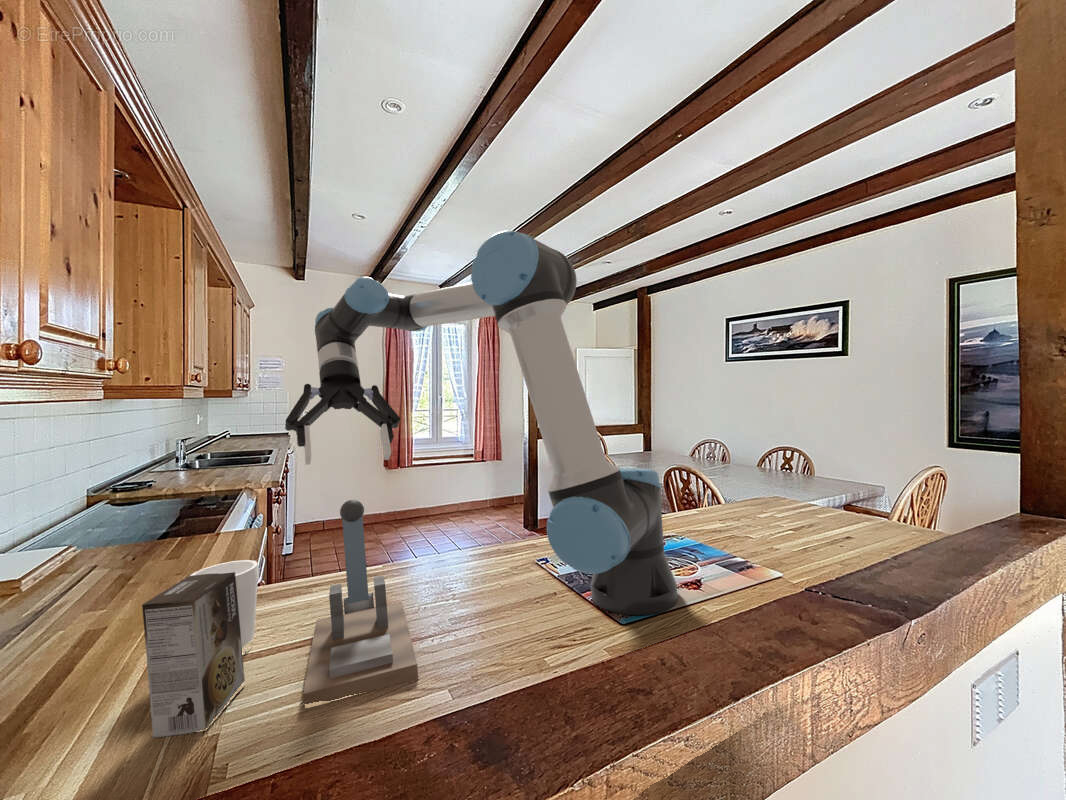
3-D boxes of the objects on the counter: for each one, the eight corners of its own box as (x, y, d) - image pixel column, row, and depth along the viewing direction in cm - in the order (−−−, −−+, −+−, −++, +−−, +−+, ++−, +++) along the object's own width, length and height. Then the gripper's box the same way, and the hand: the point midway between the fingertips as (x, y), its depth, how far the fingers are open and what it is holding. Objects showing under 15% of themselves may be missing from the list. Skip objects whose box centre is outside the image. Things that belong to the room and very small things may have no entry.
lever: (345, 609, 76) (336, 500, 76) (373, 603, 78) (365, 496, 78) (344, 618, 73) (336, 504, 73) (374, 612, 75) (366, 500, 74)
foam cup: (229, 670, 69) (223, 583, 69) (178, 667, 71) (171, 582, 71) (277, 637, 79) (271, 559, 78) (230, 635, 80) (224, 559, 80)
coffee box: (197, 691, 65) (188, 574, 64) (246, 686, 65) (237, 570, 65) (149, 739, 56) (138, 603, 55) (207, 732, 56) (196, 598, 56)
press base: (317, 631, 80) (313, 578, 80) (402, 612, 85) (398, 562, 84) (304, 709, 59) (298, 638, 59) (418, 678, 64) (413, 612, 64)
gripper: (396, 383, 106) (413, 464, 94) (269, 380, 93) (270, 473, 82) (403, 360, 101) (422, 443, 89) (270, 354, 88) (271, 450, 77)
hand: (349, 458), depth 85 cm, fingers open, 13 cm apart
